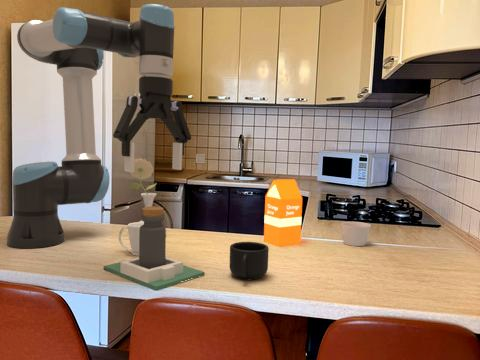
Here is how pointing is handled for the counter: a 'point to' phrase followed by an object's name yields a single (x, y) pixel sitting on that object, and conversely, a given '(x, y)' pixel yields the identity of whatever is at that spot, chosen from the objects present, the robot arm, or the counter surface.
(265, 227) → the orange juice
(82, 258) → the counter surface
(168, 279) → the board
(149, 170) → the flower in vase
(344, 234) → the candle
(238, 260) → the mug
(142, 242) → the bottle
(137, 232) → the cup
